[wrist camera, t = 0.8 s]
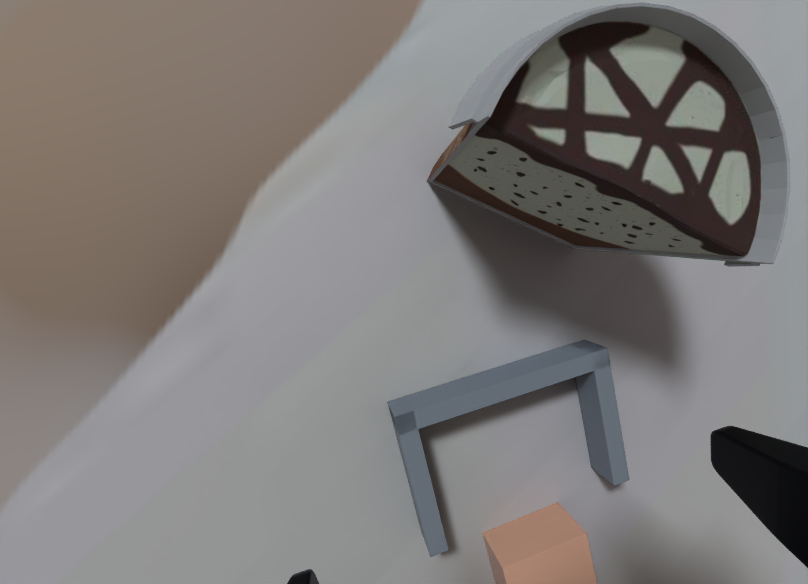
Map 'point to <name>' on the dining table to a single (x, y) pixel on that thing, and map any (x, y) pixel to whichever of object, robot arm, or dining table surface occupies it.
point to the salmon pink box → (540, 550)
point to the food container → (627, 138)
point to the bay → (500, 385)
